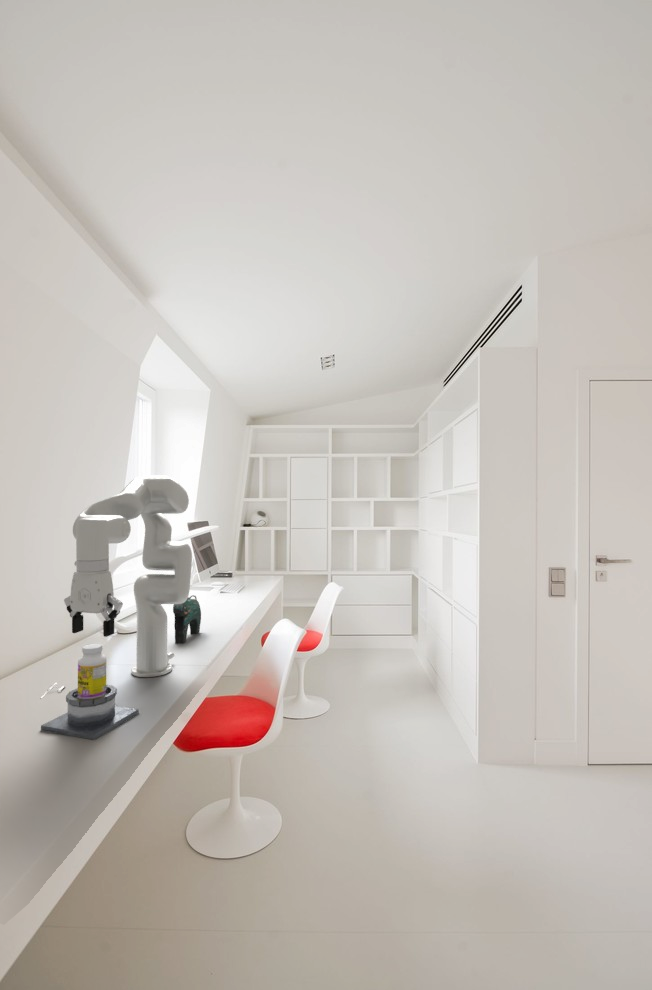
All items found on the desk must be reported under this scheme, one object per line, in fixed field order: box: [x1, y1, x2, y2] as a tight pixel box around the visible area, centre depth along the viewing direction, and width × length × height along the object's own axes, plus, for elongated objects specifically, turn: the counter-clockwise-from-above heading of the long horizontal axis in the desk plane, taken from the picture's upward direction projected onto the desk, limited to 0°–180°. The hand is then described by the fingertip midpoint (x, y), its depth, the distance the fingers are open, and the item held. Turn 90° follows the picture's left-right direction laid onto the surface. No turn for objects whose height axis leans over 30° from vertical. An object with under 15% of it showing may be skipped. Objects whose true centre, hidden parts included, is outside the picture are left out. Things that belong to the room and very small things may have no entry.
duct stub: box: [40, 684, 140, 741], centre depth 134 cm, size 16×16×7 cm
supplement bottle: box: [77, 643, 107, 699], centre depth 135 cm, size 7×7×13 cm
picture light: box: [40, 682, 66, 699], centre depth 156 cm, size 14×4×2 cm, turn 9°
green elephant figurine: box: [172, 595, 202, 645], centre depth 215 cm, size 20×6×20 cm, turn 171°
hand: (93, 633), depth 135 cm, fingers open, 9 cm apart
